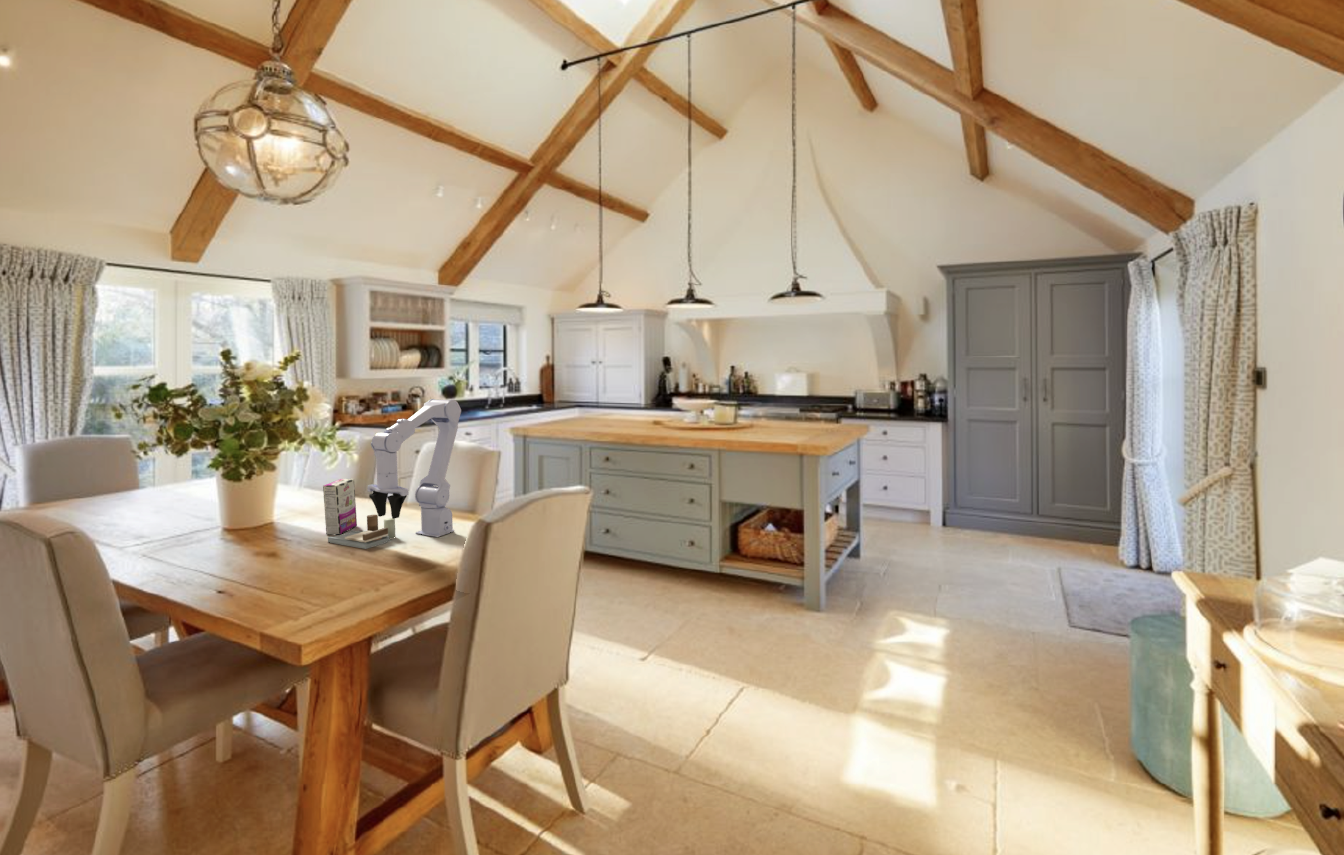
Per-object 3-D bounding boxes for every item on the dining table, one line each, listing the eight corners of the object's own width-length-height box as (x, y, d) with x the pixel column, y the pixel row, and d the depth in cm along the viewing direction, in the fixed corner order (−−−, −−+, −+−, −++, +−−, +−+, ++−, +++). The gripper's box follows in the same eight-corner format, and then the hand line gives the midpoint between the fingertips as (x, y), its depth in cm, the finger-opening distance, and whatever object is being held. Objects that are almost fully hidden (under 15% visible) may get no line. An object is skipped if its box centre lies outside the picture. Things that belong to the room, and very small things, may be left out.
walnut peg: (380, 533, 213) (379, 515, 212) (372, 535, 210) (371, 517, 209) (373, 531, 214) (372, 514, 214) (365, 534, 211) (364, 516, 211)
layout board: (389, 541, 204) (389, 536, 204) (365, 548, 196) (365, 543, 196) (352, 535, 210) (352, 530, 210) (328, 542, 202) (327, 537, 202)
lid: (388, 535, 204) (387, 527, 203) (365, 542, 196) (365, 534, 196) (368, 532, 207) (367, 524, 207) (345, 539, 199) (344, 531, 199)
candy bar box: (342, 525, 221) (340, 478, 219) (357, 526, 221) (355, 478, 219) (324, 534, 210) (322, 484, 208) (340, 535, 210) (337, 485, 208)
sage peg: (397, 537, 209) (397, 518, 208) (389, 539, 206) (389, 521, 205) (390, 535, 210) (389, 517, 209) (382, 538, 207) (381, 519, 206)
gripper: (358, 472, 195) (360, 517, 196) (394, 476, 189) (396, 522, 190) (377, 468, 201) (379, 512, 203) (413, 472, 195) (414, 517, 197)
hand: (388, 516), depth 197 cm, fingers open, 5 cm apart
